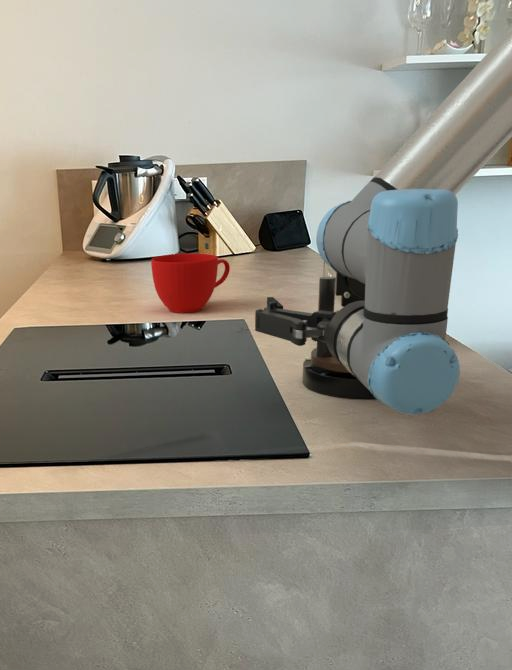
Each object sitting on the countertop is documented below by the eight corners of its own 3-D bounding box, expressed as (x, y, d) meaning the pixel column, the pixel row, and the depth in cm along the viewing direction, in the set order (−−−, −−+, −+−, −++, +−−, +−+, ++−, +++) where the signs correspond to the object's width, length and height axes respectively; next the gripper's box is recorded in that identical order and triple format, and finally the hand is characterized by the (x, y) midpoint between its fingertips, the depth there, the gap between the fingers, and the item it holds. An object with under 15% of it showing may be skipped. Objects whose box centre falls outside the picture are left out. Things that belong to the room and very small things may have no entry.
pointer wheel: (390, 346, 110) (397, 265, 106) (428, 370, 98) (437, 280, 94) (299, 351, 109) (302, 271, 105) (327, 376, 97) (331, 286, 93)
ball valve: (317, 327, 136) (321, 220, 129) (366, 326, 136) (373, 218, 129) (333, 352, 120) (339, 231, 113) (389, 351, 119) (399, 229, 112)
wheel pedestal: (422, 371, 108) (424, 352, 107) (412, 403, 96) (414, 381, 95) (313, 364, 114) (314, 346, 113) (290, 394, 101) (291, 373, 100)
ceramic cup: (247, 307, 155) (247, 255, 152) (174, 319, 148) (173, 264, 144) (211, 298, 166) (210, 249, 162) (141, 309, 158) (139, 258, 154)
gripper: (254, 381, 85) (226, 337, 105) (478, 369, 86) (409, 328, 106) (255, 312, 82) (226, 280, 102) (487, 300, 83) (414, 271, 103)
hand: (319, 304), depth 104 cm, fingers open, 12 cm apart
